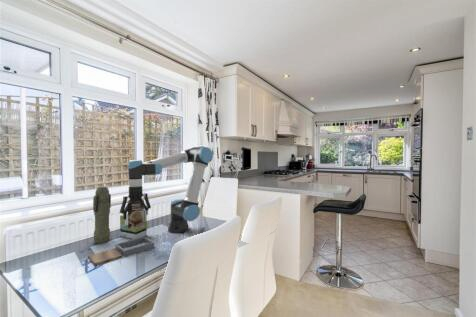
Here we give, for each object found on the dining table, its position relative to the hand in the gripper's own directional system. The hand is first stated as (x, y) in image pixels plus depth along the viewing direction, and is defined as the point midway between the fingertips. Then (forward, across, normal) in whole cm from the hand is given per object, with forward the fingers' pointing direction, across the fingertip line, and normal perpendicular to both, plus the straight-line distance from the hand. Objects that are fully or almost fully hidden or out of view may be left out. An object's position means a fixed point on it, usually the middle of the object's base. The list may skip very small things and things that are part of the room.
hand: (136, 222), depth 135 cm
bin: (+15, +1, 0) cm, 16 cm away
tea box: (+16, -7, -22) cm, 28 cm away
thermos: (+15, +11, -27) cm, 33 cm away
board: (+15, +17, +1) cm, 23 cm away
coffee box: (+3, 0, 0) cm, 3 cm away
